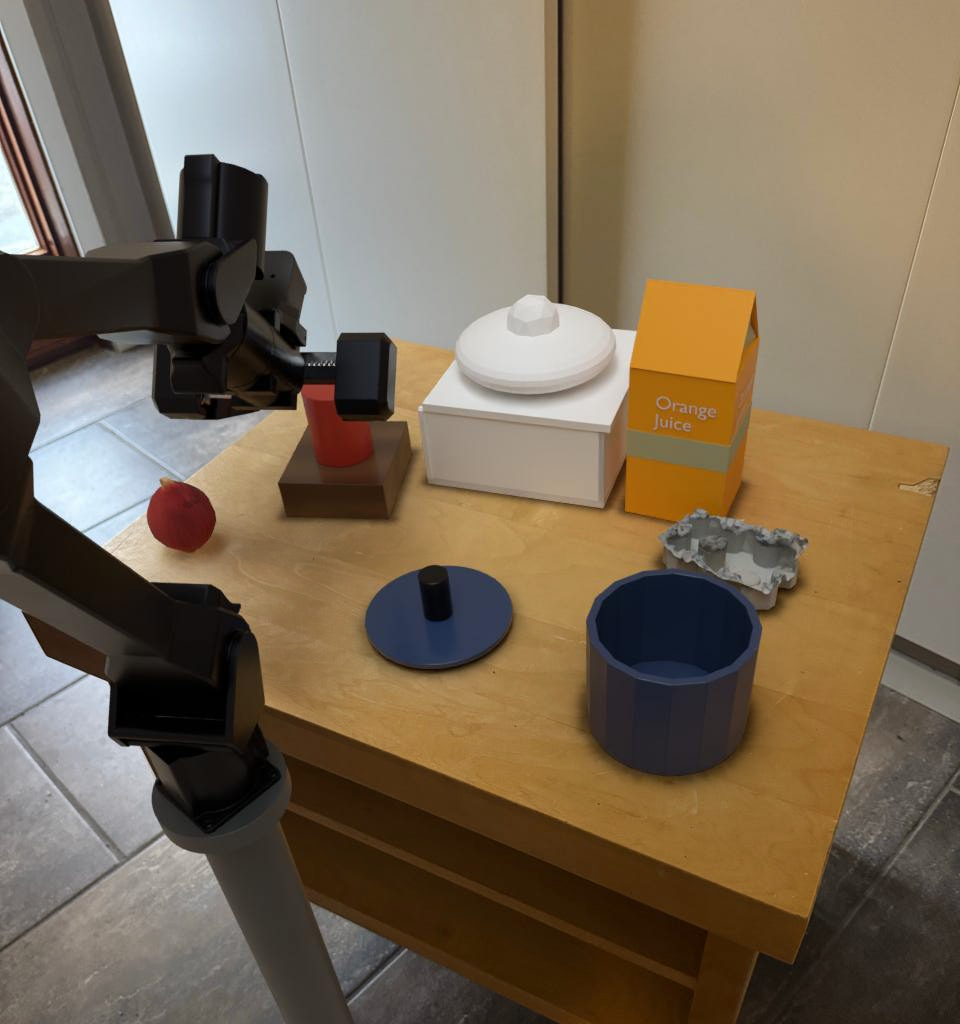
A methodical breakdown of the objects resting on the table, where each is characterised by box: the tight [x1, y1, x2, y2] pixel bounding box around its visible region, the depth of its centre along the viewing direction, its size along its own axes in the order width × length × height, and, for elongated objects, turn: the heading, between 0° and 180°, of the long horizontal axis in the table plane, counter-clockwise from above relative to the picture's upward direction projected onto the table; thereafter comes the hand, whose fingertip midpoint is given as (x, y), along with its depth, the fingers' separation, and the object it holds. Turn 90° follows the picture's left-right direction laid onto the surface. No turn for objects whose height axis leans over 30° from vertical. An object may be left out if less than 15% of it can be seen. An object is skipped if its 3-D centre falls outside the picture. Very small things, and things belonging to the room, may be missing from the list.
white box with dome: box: [417, 293, 637, 509], centre depth 91 cm, size 18×18×16 cm
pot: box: [585, 568, 763, 777], centre depth 67 cm, size 11×11×9 cm
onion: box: [146, 476, 217, 554], centre depth 86 cm, size 6×6×8 cm
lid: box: [364, 564, 514, 670], centre depth 77 cm, size 12×12×5 cm
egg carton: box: [656, 508, 809, 611], centre depth 79 cm, size 11×8×4 cm
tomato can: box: [300, 385, 374, 467], centre depth 89 cm, size 6×6×7 cm
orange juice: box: [624, 278, 761, 523], centre depth 82 cm, size 8×9×20 cm
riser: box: [277, 420, 413, 520], centre depth 93 cm, size 11×10×4 cm
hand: (310, 405), depth 82 cm, fingers open, 9 cm apart
